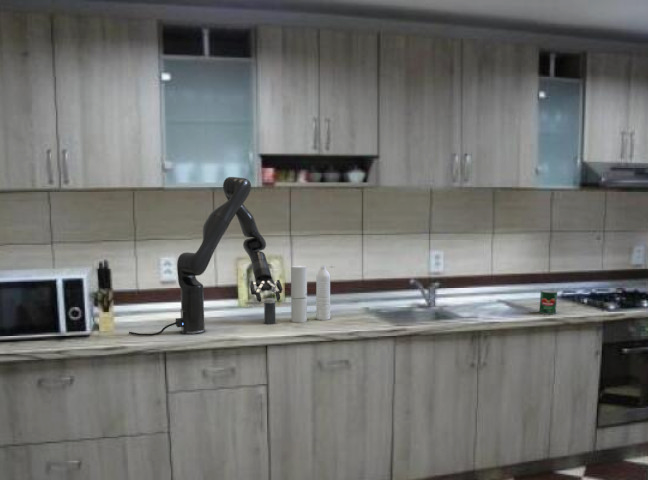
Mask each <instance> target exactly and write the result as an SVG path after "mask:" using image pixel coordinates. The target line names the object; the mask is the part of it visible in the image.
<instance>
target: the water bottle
mask: <svg viewBox="0 0 648 480" xmlns="http://www.w3.org/2000/svg"><path fill="white" fill-rule="evenodd" d="M328 268H335V264H329V265H328ZM315 279H316V280H315V284H316V289H315V292H316V295H315V296H316V298H315V308H316V311H315V313H316V314H315V319H316V320H317V321H318V320H319V321H328V320H330V319H331V275H330V273H329V271H328V270H327V265H320V269H319V271H317V273H316V277H315Z"/></svg>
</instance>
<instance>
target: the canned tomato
mask: <svg viewBox="0 0 648 480" xmlns="http://www.w3.org/2000/svg"><path fill="white" fill-rule="evenodd" d="M539 298H540V299H539V308H538V309H539V311H538V313H539V314H542V315H556V314H557V305H558V304H557V303H558V290H554V289H542V290H540V297H539Z"/></svg>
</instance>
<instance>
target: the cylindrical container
mask: <svg viewBox="0 0 648 480" xmlns="http://www.w3.org/2000/svg"><path fill="white" fill-rule="evenodd" d="M290 296H291V297H290V317H291V318H290V321H291V322H293V323H305V322H307V321H308V266H307V265H291V266H290Z"/></svg>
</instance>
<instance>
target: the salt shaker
mask: <svg viewBox="0 0 648 480" xmlns="http://www.w3.org/2000/svg"><path fill="white" fill-rule="evenodd" d="M263 311H264V312H263V318H264V319H263V320H264V321H263V322H264V324H265V325H275V324H276V298H273V297H267V298H264V302H263Z"/></svg>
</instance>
